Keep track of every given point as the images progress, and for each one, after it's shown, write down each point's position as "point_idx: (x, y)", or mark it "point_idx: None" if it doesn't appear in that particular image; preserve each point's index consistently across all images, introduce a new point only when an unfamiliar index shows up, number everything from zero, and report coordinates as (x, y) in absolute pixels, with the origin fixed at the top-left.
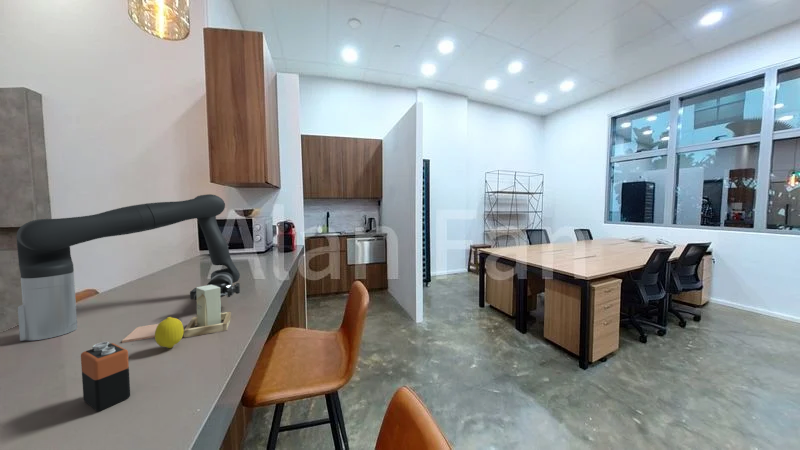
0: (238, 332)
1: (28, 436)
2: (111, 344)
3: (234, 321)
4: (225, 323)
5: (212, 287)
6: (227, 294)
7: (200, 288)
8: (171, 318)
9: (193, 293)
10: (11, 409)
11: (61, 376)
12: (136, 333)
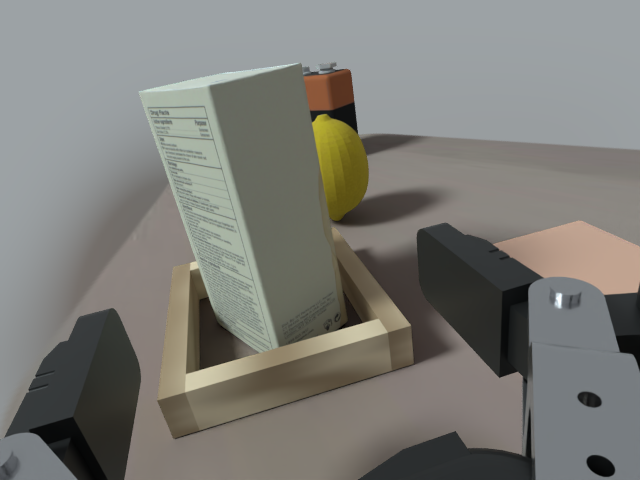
0: (137, 283)
1: (363, 136)
2: (321, 74)
3: (150, 375)
4: (178, 267)
5: (187, 82)
6: (127, 337)
7: (260, 69)
8: (314, 121)
9: (621, 296)
10: (455, 139)
11: (500, 161)
12: (615, 255)
